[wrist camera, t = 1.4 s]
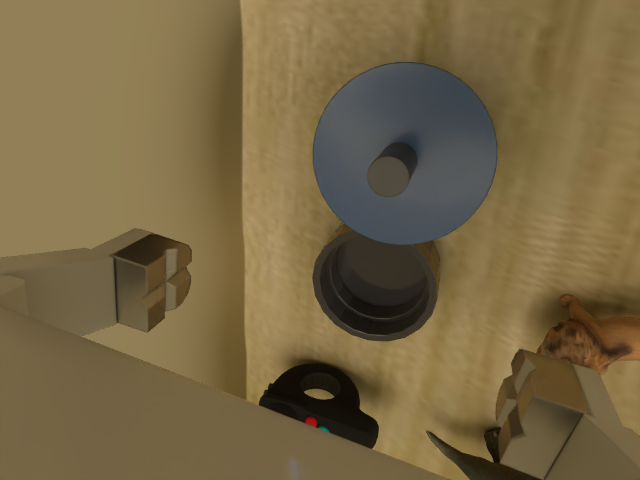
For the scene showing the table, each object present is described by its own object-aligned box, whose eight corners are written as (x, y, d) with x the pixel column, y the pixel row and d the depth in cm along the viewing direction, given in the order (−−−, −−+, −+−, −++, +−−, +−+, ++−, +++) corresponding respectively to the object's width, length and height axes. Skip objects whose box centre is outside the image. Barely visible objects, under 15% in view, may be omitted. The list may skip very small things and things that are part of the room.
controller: (286, 346, 49) (247, 408, 41) (391, 377, 46) (374, 451, 38) (283, 375, 51) (246, 440, 42) (384, 407, 48) (366, 483, 40)
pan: (338, 198, 41) (323, 214, 36) (455, 228, 38) (453, 250, 34) (320, 294, 45) (304, 319, 41) (422, 326, 43) (417, 356, 39)
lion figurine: (532, 350, 40) (549, 420, 32) (516, 302, 39) (528, 363, 31) (728, 318, 34) (807, 395, 26) (716, 260, 33) (795, 322, 25)
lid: (333, 46, 28) (304, 43, 23) (525, 81, 25) (539, 86, 20) (306, 215, 33) (277, 242, 28) (463, 258, 30) (462, 297, 25)
